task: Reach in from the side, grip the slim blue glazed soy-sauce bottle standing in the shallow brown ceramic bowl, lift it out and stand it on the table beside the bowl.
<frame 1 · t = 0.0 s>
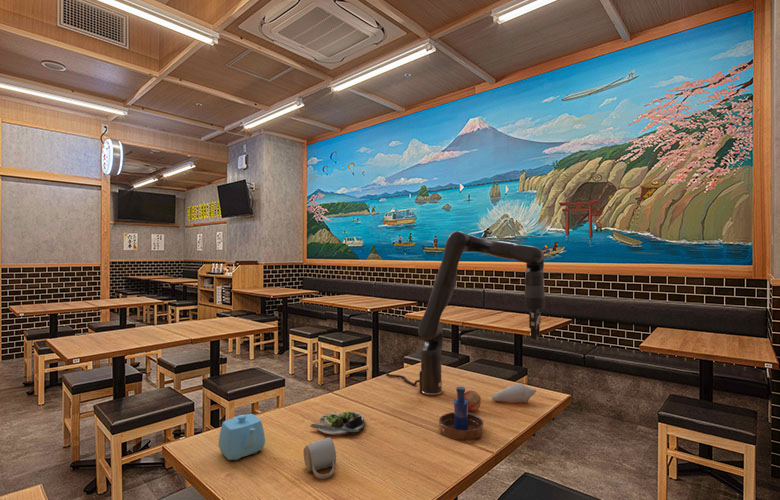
hand: (535, 336, 152), 29 cm above the table, tool pointing down, fingers open, 8 cm apart
teapot: (243, 454, 120), on the table
ceramic mug: (322, 470, 111), on the table
salad plate: (342, 427, 139), on the table
seashell: (513, 402, 161), on the table
fruit: (470, 412, 151), on the table
bowl: (461, 432, 133), on the table
soy bottle: (461, 430, 133), point 1 cm above the table, touching bowl
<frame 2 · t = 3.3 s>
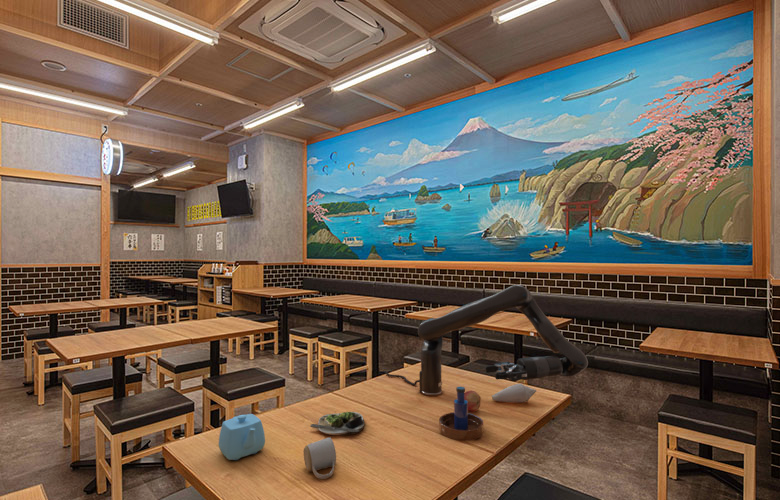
hand: (490, 372, 136), 20 cm above the table, tool horizontal, fingers open, 8 cm apart
nothing on the table moved.
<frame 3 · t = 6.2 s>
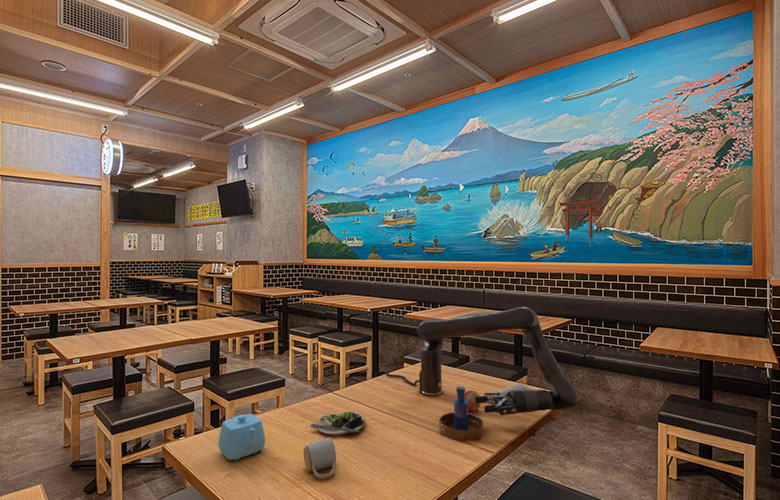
hand: (480, 404, 135), 9 cm above the table, tool horizontal, fingers open, 8 cm apart
nothing on the table moved.
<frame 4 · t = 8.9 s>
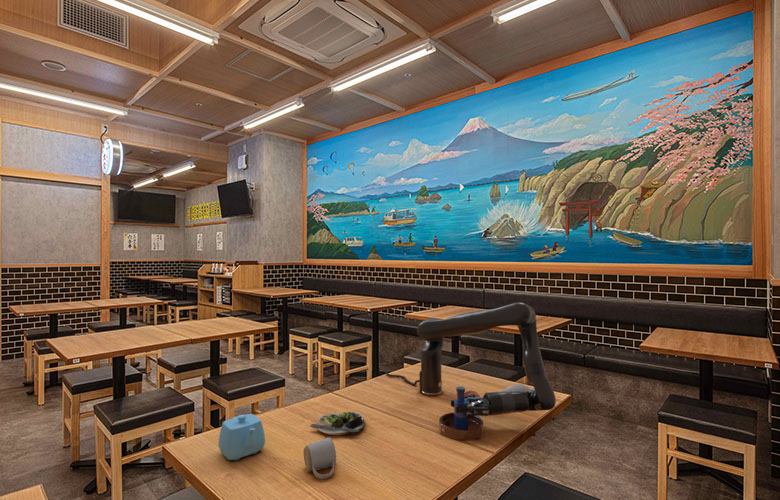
hand: (453, 406, 133), 9 cm above the table, tool horizontal, fingers closed on soy bottle, 5 cm apart
soy bottle: (461, 430, 133), point 1 cm above the table, touching bowl, gripper
everything else where it was.
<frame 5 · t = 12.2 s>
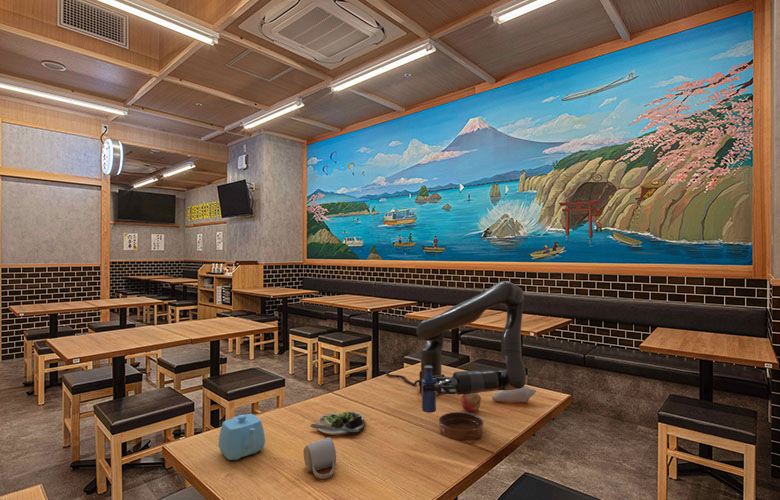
hand: (421, 385, 129), 18 cm above the table, tool horizontal, fingers closed on soy bottle, 5 cm apart
soy bottle: (429, 409, 130), point 9 cm above the table, touching gripper
everything else where it was.
when the fingers open (8 cm above the table, at t = 15.9 s): soy bottle stays where it is, on the table.
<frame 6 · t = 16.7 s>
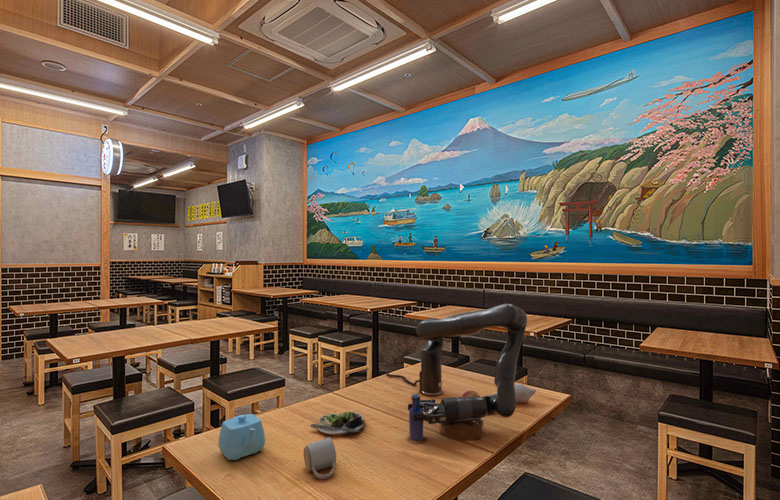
hand: (410, 412, 128), 9 cm above the table, tool horizontal, fingers open, 8 cm apart
soy bottle: (416, 439, 128), on the table
everything else where it was.
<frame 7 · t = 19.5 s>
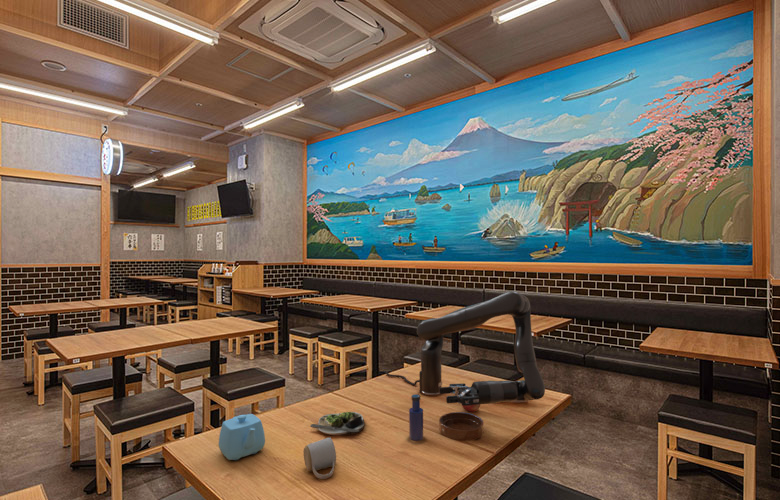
hand: (442, 395, 131), 14 cm above the table, tool horizontal, fingers open, 8 cm apart
nothing on the table moved.
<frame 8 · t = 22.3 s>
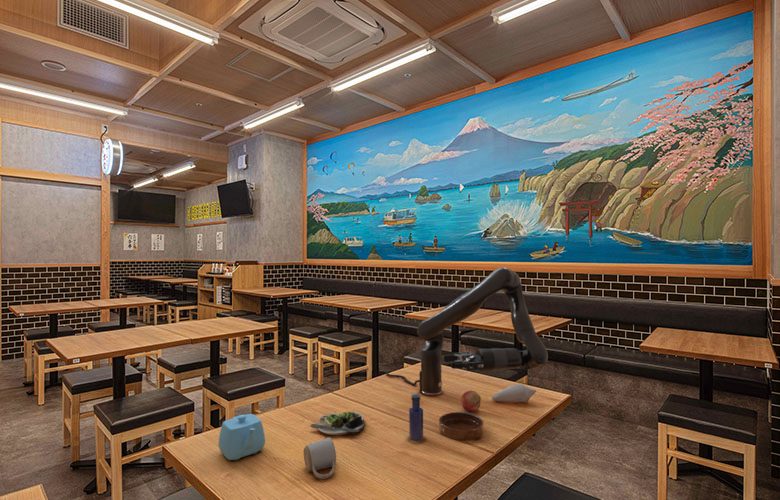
hand: (447, 361, 133), 25 cm above the table, tool horizontal, fingers open, 8 cm apart
nothing on the table moved.
at the end: soy bottle inside the target area (0.1 cm from its centre), on the table; soy bottle touching table; soy bottle tilted 0° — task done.
